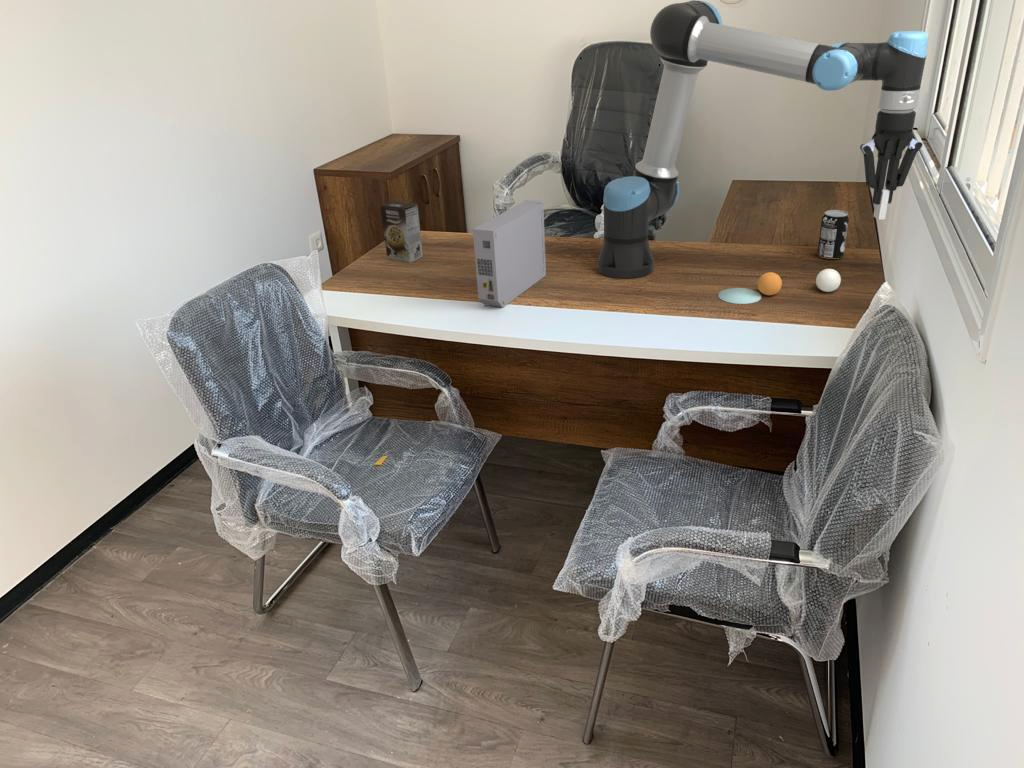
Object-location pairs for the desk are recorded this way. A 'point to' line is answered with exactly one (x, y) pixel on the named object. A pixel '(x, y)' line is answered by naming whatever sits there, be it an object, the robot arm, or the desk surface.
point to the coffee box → (401, 231)
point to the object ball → (769, 283)
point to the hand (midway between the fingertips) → (879, 217)
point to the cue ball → (828, 280)
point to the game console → (510, 253)
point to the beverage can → (833, 234)
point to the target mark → (739, 296)
